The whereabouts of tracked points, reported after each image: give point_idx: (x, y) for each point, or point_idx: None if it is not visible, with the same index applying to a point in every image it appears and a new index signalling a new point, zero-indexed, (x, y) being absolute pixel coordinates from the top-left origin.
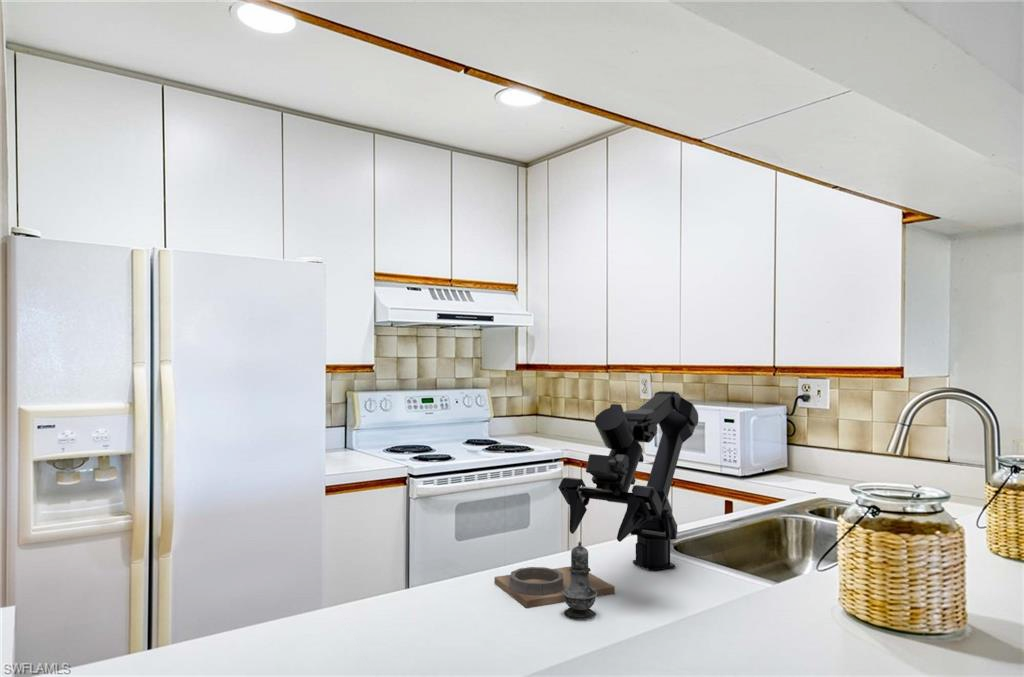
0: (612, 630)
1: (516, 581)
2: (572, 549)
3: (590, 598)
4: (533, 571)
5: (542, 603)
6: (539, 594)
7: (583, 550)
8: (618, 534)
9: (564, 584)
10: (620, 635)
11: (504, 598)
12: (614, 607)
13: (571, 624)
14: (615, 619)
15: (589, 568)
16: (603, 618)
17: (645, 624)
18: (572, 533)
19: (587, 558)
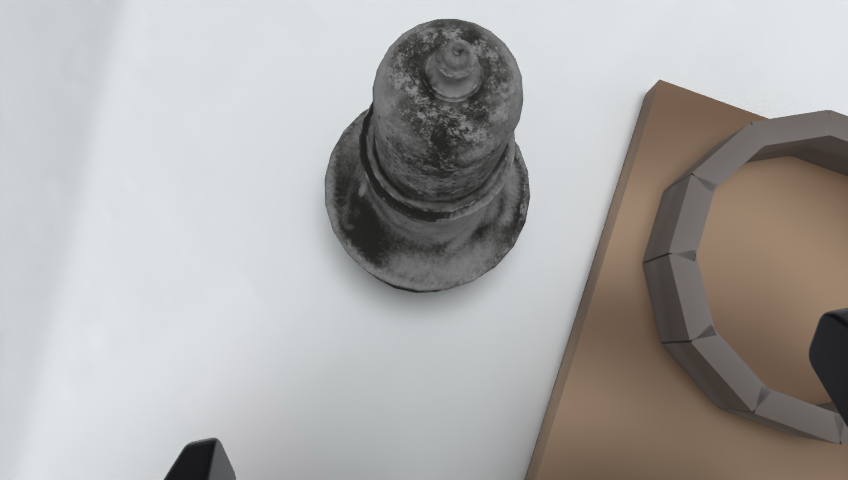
0: (190, 170)
1: (822, 111)
2: (499, 41)
3: (329, 165)
4: None
5: (624, 168)
6: (677, 179)
7: (391, 63)
8: (193, 470)
9: (718, 420)
10: (131, 150)
11: (808, 112)
12: (354, 421)
13: (368, 94)
14: (255, 288)
15: (392, 200)
16: (305, 255)
17: (107, 343)
18: (810, 345)
19: (375, 128)
